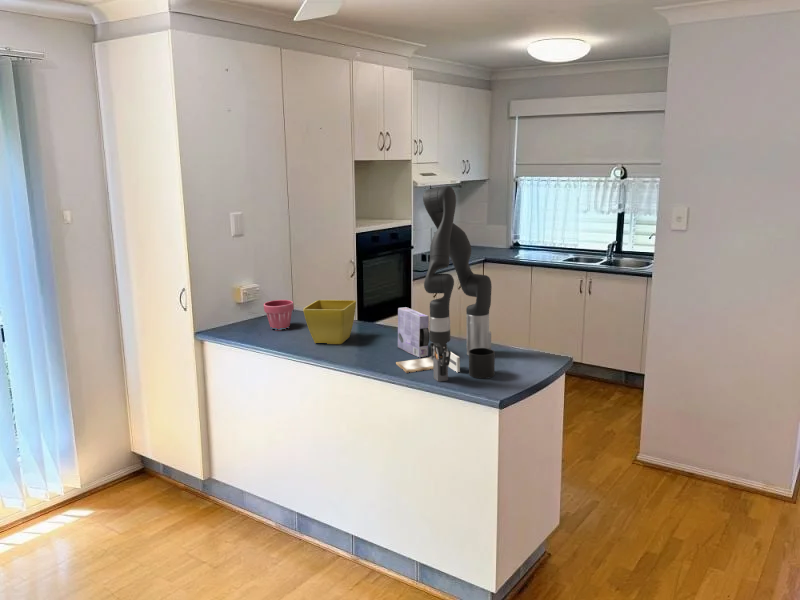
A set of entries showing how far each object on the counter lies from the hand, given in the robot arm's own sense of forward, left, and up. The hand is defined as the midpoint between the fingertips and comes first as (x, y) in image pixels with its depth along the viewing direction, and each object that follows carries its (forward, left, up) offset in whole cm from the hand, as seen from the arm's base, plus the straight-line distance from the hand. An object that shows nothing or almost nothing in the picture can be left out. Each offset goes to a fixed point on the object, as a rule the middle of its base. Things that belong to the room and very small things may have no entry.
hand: (440, 373), depth 238 cm
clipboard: (+1, -18, -2) cm, 18 cm away
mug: (-17, +1, -3) cm, 17 cm away
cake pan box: (-3, -36, -3) cm, 36 cm away
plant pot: (+42, -102, -3) cm, 110 cm away
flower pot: (+24, -69, -3) cm, 73 cm away
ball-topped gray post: (0, 0, -2) cm, 2 cm away
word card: (-9, -8, -2) cm, 12 cm away
